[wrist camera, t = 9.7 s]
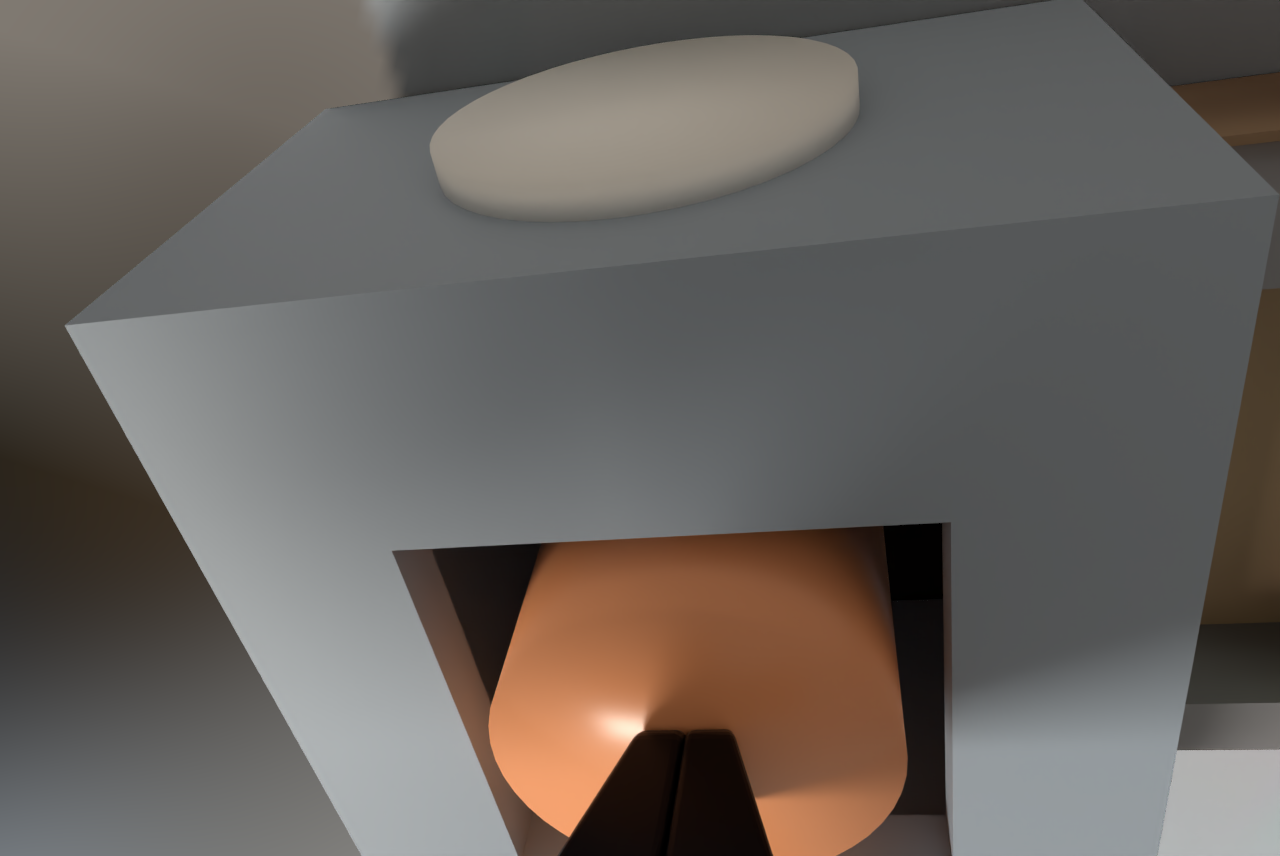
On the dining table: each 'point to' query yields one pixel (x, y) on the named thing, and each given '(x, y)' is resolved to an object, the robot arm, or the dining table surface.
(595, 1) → the dining table surface
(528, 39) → the dining table surface
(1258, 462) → the rail
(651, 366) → the grey block with hole
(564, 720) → the rounded orange peg
